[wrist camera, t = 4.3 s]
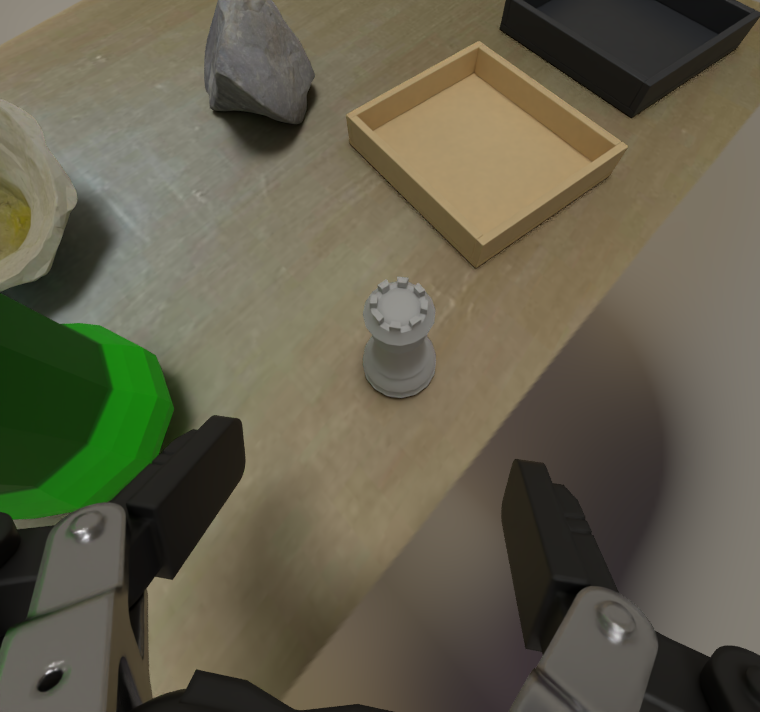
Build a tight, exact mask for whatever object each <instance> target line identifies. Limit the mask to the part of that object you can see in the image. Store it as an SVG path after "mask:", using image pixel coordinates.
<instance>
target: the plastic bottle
mask: <svg viewBox="0 0 760 712" xmlns="http://www.w3.org/2000/svg"><path fill="white" fill-rule="evenodd" d="M173 411H174V406H173V403H172V400H171V397H170V394H169V391H168V388H167V385H166V381H165V378H164V375H163V372H162V369H161V366H160V364H159V362H158V360H157V357H156V355H154V354H152V353H151V352H149V351H147V350H146V349H144V348H142V347H140V346H138V345H137V344H135V343H133V342H131V341H129V340H127V339H125V338H123V337H121V336H119V335H117V334H115V333H113V332H111V331H109V330H108V329H106V328H104V327H102V326H100V325H91V324H82V323H74V324H59V323H57V322H55V321H53V320H51V319H49V318H47V317H45V316H43V315H41V314H40V313H38V312H36V311H34V310H32V309H30V308H28V307H26V306H24V305H23V304H21V303H19V302H17V301H15V300H13V299H11V298H9V297H7V296H5V295H4V294H2V293H0V512H3V513H6V514H9V515H10V516H11V517H12V520H13V519H35V518H41V517H47V516H52V515H58V514H64V513H69V512H74V511H76V510H78V509H80V508H83V507H85V506H88V505H92V504H96V503H106V502H108V501H110V500H112V499H113V498H114V497H115V496H116V495H117V494H118V493H119V492H120V491H121V490H122V489H123V488H124V487H125V486H126V485H127V484H128V483H130V482H131V481H132V480H133V479H134V478H135V477H136V476H137V475H138V474H139V473H140V472H141V471H142V470H143V469H144V468H145V467H146V466H147V465H148V464H151V463H152V461H153V460H154V459H155V458H156V457H157V456H158V455H159V452H160V449H161V446H162V443H163V440H164V437H165V434H166V432H167V429H168V426H169V423H170V420H171V417H172V414H173Z"/></svg>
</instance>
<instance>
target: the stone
mask: <svg viewBox="0 0 760 712" xmlns="http://www.w3.org/2000/svg"><path fill="white" fill-rule="evenodd" d="M314 77H315V74H314V71H313V69H312V66H311V64H310V61H309V59H308V57H307V55H306V53H305V50H304V49H303V47H302V45H301V43H300V41H299V39H298V38H297V37H296V36H295V34H294V33H293V32H292V30H291V29H290V28H289V27H288V25H287V24H286V22H285V21H284V20H283V18H282V16H281V14H280V12H279V10H278V8H277V7H276V5H275V4H274V3H273V1H272V0H218V2H217V6H216V9H215V13H214V17H213V20H212V24H211V27H210V31H209V35H208V38H207V44H206V50H205V64H204V79H205V89H206V92H207V93H208V95H209V98H210V108H211V109H212V110H217V111H232V110H235V111H245V112H252V113H256V114H260V115H265V116H268V117H270V118H272V119H274V120H277V121H281V122H286V123H290V124H299V123H301V122H302V120H303V119H304V115H305V113H306V110H307V92H308V90H309V88H310V86H311V82H312V80H313V79H314Z"/></svg>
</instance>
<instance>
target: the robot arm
mask: <svg viewBox="0 0 760 712" xmlns="http://www.w3.org/2000/svg"><path fill="white" fill-rule="evenodd" d="M244 469H245V449H244V439H243V429H242V422H241V420H240V419H238V418H231V417H224V416H217V415H214V416H212V417H210V418H209V419H208V420H207V421H206V422H205V423H204V424H203V425H202V426H201V427H200V428H199V429H198V430H194V429H193V430H191V431H189V432H187V433H185V434H183V435H182V436H180V437H178V438H176V439H175V440H174V441H173V442H172V443H170V444H169V445H168V446H167V447H166V448H165V449H164V450H163V452H162V454H161V453H160V454H159V455H158V456H157V457H156V458H155V459H154V460H153V461H152V463H151V464H148V465H147V466H146V467H145V468H144V469H143V470H142V471H141V472H140V473H139V474H138V475H137V476H136V477H135V478H134V479H133V480H132V481H131V482H130V483H128V484H127V485H126V486H125V487H124V488H123V489H122V490H121V491H120V492H119V493H118V494H117V495H116V496H115V497H114V498H113V499H112V500H111V501H110V502H106V503H96V504H92V505H88V506H85V507H83V508H80V509H78V510H76V511H74V512H72V513H70V514H69V515H67V516H66V517H64V518H63V519H62V520H60V521H59V522H58V523H57V524H56V525H55V526H46V527H36V528H27V529H16V526H15V524H14V522H13V520H12V517H11V516H10V515H9V514H6V513H3V512H0V712H393V711H388V710H383V709H378V708H374V707H369V706H364V705H360V704H354V705H346V706H337V707H329V708H319V709H311V710H295V709H293V708H291V707H289V706H288V705H286V704H284V703H283V702H281V701H280V700H278V699H276V698H275V697H273V696H272V695H270V694H268V693H267V692H265V691H263V690H262V689H260V688H259V687H257V686H255V685H254V684H252V683H251V682H249V681H247V680H243V679H238V678H234V677H229V676H224V675H220V674H215V673H210V672H206V671H201V670H196V671H195V673H194V675H193V677H192V679H191V681H190V683H189V685H188V687H187V689H181V690H177V691H173V692H169V693H166V694H163V695H161V696H158V697H156V698H153V697H152V690H151V684H150V676H149V642H148V593H147V589H146V588H147V587H148V585H149V584H150V583H151V581H152V580H153V579H154V577H161V578H166V579H171V580H173V578H174V577H175V576H176V574H177V573H178V571H179V570H180V568H181V567H182V565H183V564H184V562H185V561H186V559H187V558H188V556H189V555H190V553H191V552H192V551H193V549H194V548H195V546H196V545H197V543H198V542H199V540H200V539H201V537H202V536H203V534H204V533H205V531H206V530H207V528H208V527H209V525H210V524H211V523H212V521H213V520H214V518H215V517H216V515H217V514H218V512H219V511H220V509H221V508H222V506H223V505H224V503H225V502H226V500H227V499H228V498H229V496H230V495H231V493H232V492H233V490H234V489H235V487H236V486H237V484H238V483H239V481H240V480H241V478H242V475H243V472H244ZM501 518H502V526H503V532H504V537H505V542H506V548H507V553H508V558H509V564H510V568H511V574H512V579H513V585H514V590H515V595H516V601H517V606H518V611H519V617H520V622H521V627H522V633H523V638H524V643H525V648H526V649H530V650H535V651H540V652H542V654H543V657H542V659H541V660H540V662H539V664H538V666H537V667H536V669H535V668H534V669H533V670H532V672H531V673H530V675H529V677H528V678H527V680H526V682H525V683H524V685H523V687H522V689H521V690H520V692H519V694H518V696H517V698H516V699H515V701H514V703H513V705H512V707H511V708H510V710H509V712H760V655H757V654H756V653H754V652H751V651H749V650H747V649H744V648H741V647H737V646H722V647H719V648H718V649H716V651H715V652H714V653H713V655H712V656H711V657H708V656H706V655H704V654H702V653H700V652H698V651H695V650H693V649H691V648H689V647H687V646H685V645H682V644H680V643H678V642H676V641H674V640H672V639H669V638H667V637H666V636H664V635H662V634H660V633H658V632H656V631H655V630H654V628H653V626H652V624H651V623H650V621H649V620H648V618H647V617H646V616H645V614H644V613H643V612H642V611H641V610H640V609H639V608H638V607H637V606H636V605H635V604H634V603H632V602H631V601H630V600H629V599H627V598H626V597H624V596H623V595H621V594H619V592H618V590H617V587H616V585H615V583H614V581H613V579H612V576H611V574H610V572H609V570H608V567H607V565H606V563H605V561H604V558H603V556H602V554H601V552H600V549H599V547H598V545H597V543H596V540H595V538H594V536H593V535H592V534H591V532H592V531H591V529H590V527H589V525H588V522H587V521H585V516H584V513H583V511H582V509H581V507H580V504H579V502H578V500H577V499H576V498H575V497H574V496H573V495H572V494H571V493H570V491H569V490H568V489H567V488H566V487H565V486H564V485H561V484H554V483H552V481H551V478H550V476H549V473H548V471H547V468H546V466H545V464H544V463H541V462H534V461H526V460H519V459H515V460H514V461H513V463H512V467H511V471H510V474H509V478H508V482H507V486H506V489H505V493H504V497H503V501H502V510H501Z"/></svg>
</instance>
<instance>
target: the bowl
mask: <svg viewBox="0 0 760 712" xmlns="http://www.w3.org/2000/svg"><path fill="white" fill-rule="evenodd" d="M77 200H78V199H77V194H76V190H75V188H74V186H73V185H72V182H71V180H70V178H69V177H68V175H67V174H66V173H65V171H64V170H63V168H62V167H61V165H60V164H59V162H58V161H57V160H56V158H55V157H54V156H53V154H52V153H51V152H50V150H49V149H48V147H47V146H46V142H45V138H44V135H43V132H42V130H41V127H40V125H39V124H38V122H37V121H36V119H35V118H34V117H32V116H31V115H30V114H28V113H27V112H25V111H24V110H22V109H21V108H19V107H17V106H15V105H13V104H12V103H10V102H8V101H5V100H2V99H0V292H1V291H4V290H6V289H8V288H11V287H13V286H17V285H20V284H24V283H29V282H33V281H36V280H38V279H39V278H40V277H42V276H45V275H46V274H47V273H48V272H49V271H50V270H51V267H52V264H53V261H54V258H55V255H56V251H57V248H58V246H59V243H60V241H61V238H62V236H63V232H64V229H65V227H66V224H67V221H68V218H69V215H70V213H71V211H72V210H73V209H74V207H75V206H76V204H77Z"/></svg>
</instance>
